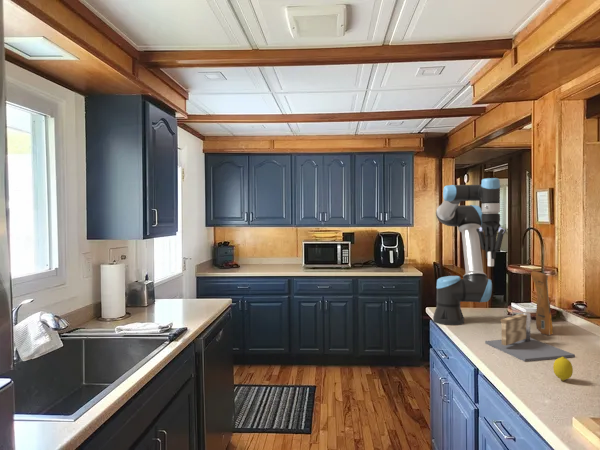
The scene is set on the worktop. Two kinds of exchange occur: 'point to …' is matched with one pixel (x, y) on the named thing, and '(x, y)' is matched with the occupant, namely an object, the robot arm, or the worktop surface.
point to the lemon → (563, 368)
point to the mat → (530, 350)
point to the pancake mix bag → (542, 304)
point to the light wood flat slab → (513, 329)
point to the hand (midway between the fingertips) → (490, 266)
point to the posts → (527, 327)
